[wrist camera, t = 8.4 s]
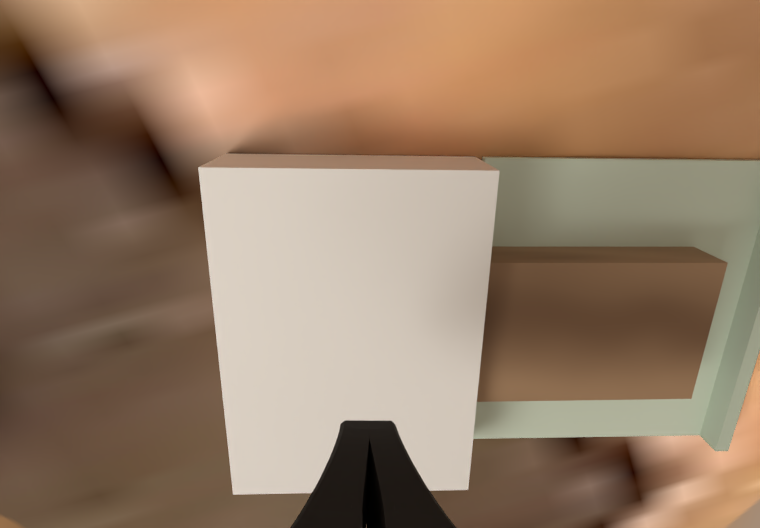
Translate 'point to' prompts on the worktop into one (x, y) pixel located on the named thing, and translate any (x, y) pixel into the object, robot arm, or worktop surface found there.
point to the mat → (641, 229)
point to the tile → (596, 322)
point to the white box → (347, 307)
